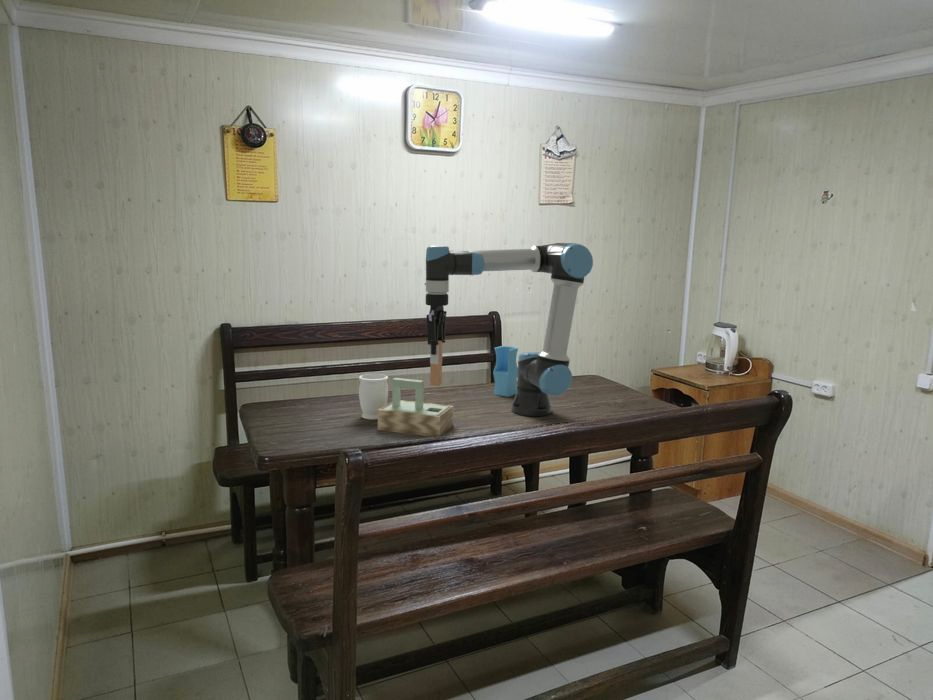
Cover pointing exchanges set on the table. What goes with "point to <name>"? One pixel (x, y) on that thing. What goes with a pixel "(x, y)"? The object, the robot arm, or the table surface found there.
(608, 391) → the table surface
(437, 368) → the key peg
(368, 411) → the jar
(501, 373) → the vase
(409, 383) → the lid
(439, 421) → the wooden box
